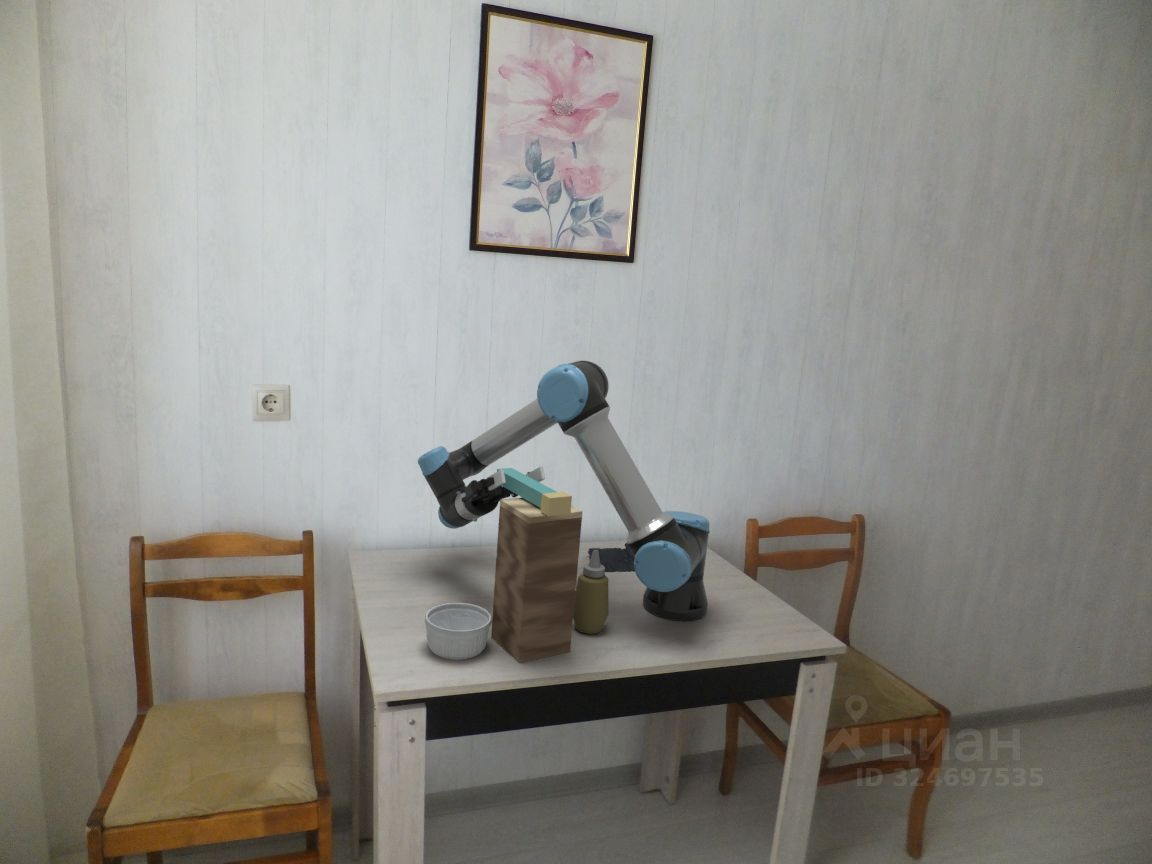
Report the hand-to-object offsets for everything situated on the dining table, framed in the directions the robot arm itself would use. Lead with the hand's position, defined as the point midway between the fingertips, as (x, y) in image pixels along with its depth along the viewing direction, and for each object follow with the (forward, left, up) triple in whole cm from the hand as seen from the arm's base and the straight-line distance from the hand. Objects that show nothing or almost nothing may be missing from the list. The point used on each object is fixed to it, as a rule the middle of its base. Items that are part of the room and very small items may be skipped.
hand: (523, 474), depth 173 cm
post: (-6, +6, -34) cm, 35 cm away
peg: (-2, +2, -4) cm, 5 cm away
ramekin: (+8, +12, -35) cm, 38 cm away
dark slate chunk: (-18, -52, -35) cm, 65 cm away
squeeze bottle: (-16, -6, -35) cm, 38 cm away
